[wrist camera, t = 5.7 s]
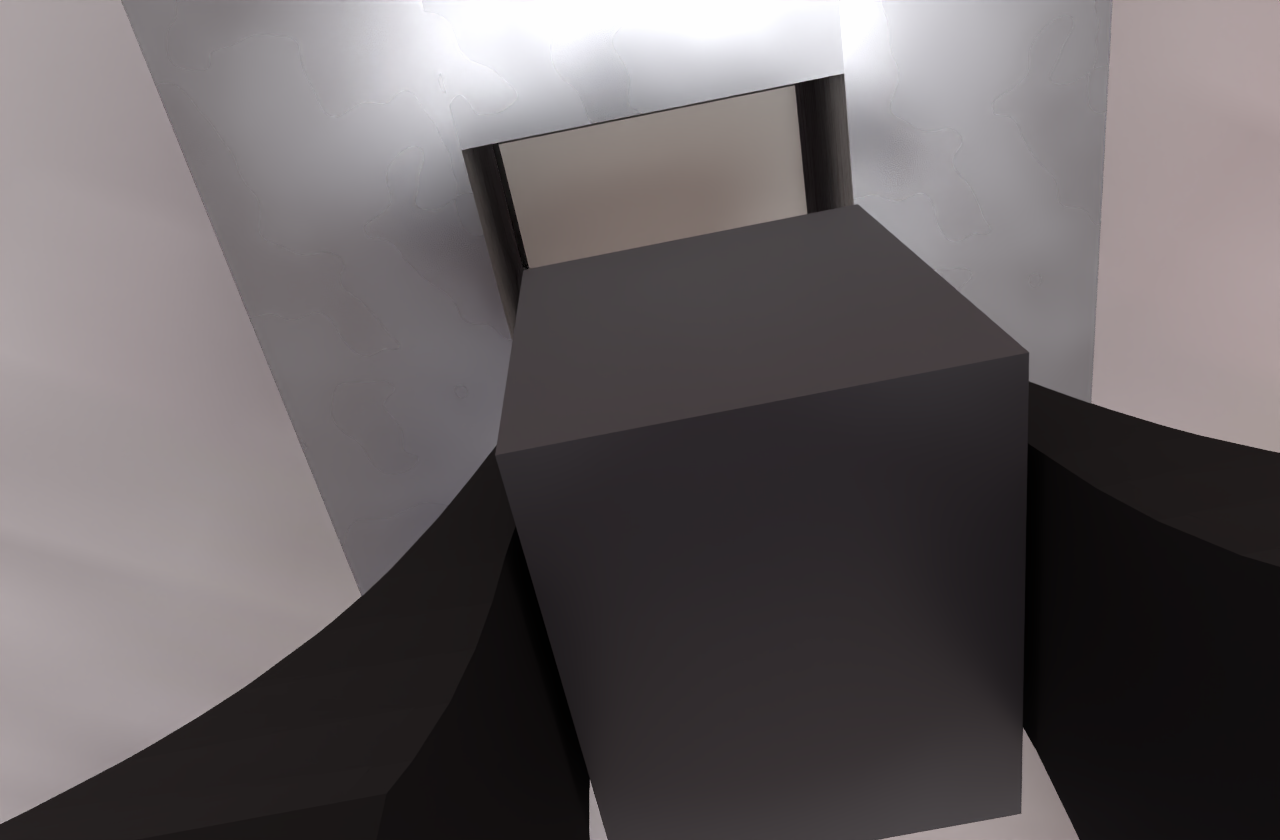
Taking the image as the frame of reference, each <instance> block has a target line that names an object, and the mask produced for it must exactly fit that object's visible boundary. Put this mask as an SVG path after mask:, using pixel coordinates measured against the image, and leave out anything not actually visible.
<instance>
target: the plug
mask: <svg viewBox="0 0 1280 840" xmlns="http://www.w3.org/2000/svg"><path fill="white" fill-rule="evenodd" d="M1028 395H1029V352H1028V351H1027V350H1026V349H1025V348H1024V347H1022V346H1021V345H1020V344H1019V343H1018V342H1017V341H1015V340H1014V339H1013V338H1012V337H1011V336H1010V335H1009V334H1007V333H1006V332H1005V331H1004V330H1003V329H1002V328H1000V327H999V326H998V325H997V324H996V323H995V322H994V321H992V320H991V319H990V318H989V317H988V316H987V315H985V314H984V313H983V312H982V311H981V310H980V309H979V308H977V307H976V306H975V305H974V304H973V303H972V302H970V301H969V300H968V299H967V298H966V297H965V296H963V295H962V294H961V293H960V292H959V291H958V290H957V289H955V288H954V287H953V286H952V285H951V284H950V283H948V282H947V281H946V280H945V279H944V278H943V277H942V276H940V275H939V274H938V273H937V272H936V271H935V270H933V269H932V268H931V267H930V266H929V265H928V264H927V263H925V262H924V261H923V260H922V259H921V258H920V257H918V256H917V255H916V254H915V253H914V252H913V251H912V250H910V249H909V248H908V247H907V246H906V245H905V244H903V243H902V242H901V241H900V240H899V239H898V238H897V237H895V236H894V235H893V234H892V233H891V232H890V231H888V230H887V229H886V228H885V227H884V226H883V225H882V224H880V223H879V222H878V221H877V220H876V219H875V218H873V217H872V216H871V215H870V214H869V213H868V212H867V211H865V210H864V209H863V208H862V207H861V206H860V205H858V204H856V205H851V206H846V207H841V208H835V209H830V210H825V211H820V212H815V213H810V214H805V215H800V216H795V217H790V218H785V219H780V220H775V221H769V222H764V223H759V224H754V225H749V226H744V227H739V228H734V229H729V230H724V231H719V232H714V233H708V234H703V235H698V236H693V237H688V238H683V239H678V240H673V241H668V242H663V243H658V244H653V245H647V246H642V247H637V248H632V249H627V250H622V251H617V252H612V253H607V254H602V255H597V256H592V257H587V258H581V259H576V260H571V261H566V262H561V263H556V264H551V265H546V266H541V267H536V268H531V269H526V270H523V276H522V282H521V289H520V296H519V302H518V309H517V315H516V322H515V328H514V335H513V341H512V348H511V354H510V361H509V368H508V374H507V381H506V387H505V394H504V400H503V407H502V413H501V420H500V427H499V433H498V440H497V446H496V453H495V456H496V460H497V463H498V467H499V470H500V474H501V477H502V480H503V484H504V487H505V491H506V494H507V497H508V501H509V504H510V508H511V511H512V514H513V518H514V521H515V525H516V528H517V532H518V535H519V538H520V542H521V545H522V549H523V552H524V555H525V559H526V562H527V566H528V569H529V572H530V576H531V579H532V583H533V586H534V590H535V593H536V596H537V600H538V603H539V607H540V610H541V613H542V617H543V620H544V624H545V627H546V630H547V634H548V637H549V641H550V644H551V648H552V651H553V654H554V658H555V661H556V665H557V668H558V671H559V675H560V678H561V682H562V685H563V688H564V692H565V695H566V699H567V702H568V706H569V709H570V712H571V716H572V719H573V723H574V726H575V729H576V733H577V736H578V740H579V743H580V746H581V750H582V753H583V757H584V760H585V764H586V767H587V770H588V774H589V777H590V781H591V784H592V787H593V791H594V794H595V798H596V801H597V804H598V808H599V811H600V815H601V818H602V822H603V825H604V828H605V832H606V835H607V839H608V840H878V839H884V838H889V837H895V836H900V835H906V834H911V833H917V832H922V831H928V830H933V829H939V828H944V827H950V826H955V825H961V824H967V823H972V822H978V821H983V820H989V819H994V818H1000V817H1005V816H1011V815H1016V814H1021V793H1022V736H1023V679H1024V622H1025V566H1026V509H1027V452H1028Z"/></svg>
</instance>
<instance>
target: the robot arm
mask: <svg viewBox="0 0 1280 840" xmlns="http://www.w3.org/2000/svg"><path fill="white" fill-rule="evenodd" d="M496 446H497V445H496ZM496 446H495V448H494V449H493V450H492V451H491V453H490V454H489V455H488V456H487V458H486V459H485V460H484V462H483V463H482V464H481V465H480V467H479V468H478V469H477V471H476V472H475V473H474V474H473V476H472V477H471V478H470V480H469V481H468V482H467V483H466V484H465V486H464V487H463V488H462V489H461V491H460V492H459V493H458V494H457V495H456V497H455V498H454V499H453V500H452V502H451V503H450V504H449V505H448V506H447V508H446V509H445V510H444V511H443V513H442V514H441V515H440V516H439V517H438V518H437V520H436V521H435V522H434V523H433V524H432V525H431V526H430V527H429V528H428V529H427V530H426V531H425V533H424V534H423V535H422V536H421V537H420V538H419V539H418V540H417V541H416V542H415V543H414V544H413V546H412V547H411V548H410V549H409V550H408V551H407V552H406V553H405V554H404V555H403V556H402V557H401V558H400V560H399V561H398V562H397V563H396V564H395V565H394V566H393V567H392V568H391V569H390V570H389V571H388V572H387V573H386V574H385V575H384V576H383V577H382V578H381V579H380V580H379V581H378V582H377V583H376V584H374V585H373V586H372V587H371V588H370V589H369V590H368V591H367V592H366V593H365V594H364V595H363V596H361V597H360V598H359V599H358V600H357V601H356V602H355V603H353V604H352V605H351V606H350V607H349V608H348V609H346V610H345V611H344V612H343V613H342V614H341V615H340V616H338V617H337V618H336V619H335V620H334V621H333V622H331V623H330V624H329V625H328V626H327V627H325V628H324V629H323V630H322V631H320V632H319V633H318V634H317V635H315V636H314V637H312V638H311V639H310V640H308V641H307V642H306V643H304V644H303V645H302V646H300V647H299V648H298V649H296V650H295V651H294V652H292V653H291V654H289V655H288V656H287V657H285V658H284V659H283V660H281V661H280V662H279V663H277V664H276V665H275V666H273V667H272V668H270V669H269V670H268V671H266V672H265V673H264V674H262V675H261V676H260V677H258V678H257V679H256V680H254V681H253V682H251V683H250V684H249V685H247V686H246V687H244V688H243V689H241V690H240V691H238V692H237V693H235V694H234V695H232V696H230V697H229V698H227V699H226V700H224V701H223V702H221V703H220V704H218V705H217V706H215V707H213V708H212V709H210V710H209V711H207V712H206V713H204V714H203V715H201V716H199V717H198V718H196V719H194V720H193V721H191V722H189V723H188V724H186V725H184V726H183V727H181V728H179V729H178V730H176V731H174V732H173V733H171V734H169V735H168V736H166V737H164V738H163V739H161V740H159V741H158V742H156V743H154V744H153V745H151V746H149V747H147V748H146V749H144V750H142V751H140V752H139V753H137V754H135V755H133V756H132V757H130V758H128V759H126V760H124V761H123V762H121V763H119V764H117V765H115V766H113V767H111V768H109V769H107V770H105V771H104V772H102V773H100V774H98V775H96V776H94V777H92V778H90V779H88V780H86V781H84V782H82V783H80V784H79V785H77V786H75V787H73V788H71V789H69V790H67V791H65V792H63V793H61V794H59V795H57V796H55V797H54V798H52V799H50V800H48V801H46V802H44V803H42V804H40V805H38V806H36V807H34V808H32V809H30V810H29V811H27V812H25V813H23V814H21V815H19V816H16V817H14V818H12V819H10V820H8V821H6V822H4V823H2V824H0V840H590V837H589V788H590V777H589V774H588V770H587V767H586V764H585V760H584V757H583V753H582V750H581V746H580V743H579V740H578V736H577V733H576V729H575V726H574V723H573V719H572V716H571V712H570V709H569V706H568V702H567V699H566V695H565V692H564V688H563V685H562V682H561V678H560V675H559V671H558V668H557V665H556V661H555V658H554V654H553V651H552V648H551V644H550V641H549V637H548V634H547V630H546V627H545V624H544V620H543V617H542V613H541V610H540V607H539V603H538V600H537V596H536V593H535V590H534V586H533V583H532V579H531V576H530V572H529V569H528V566H527V562H526V559H525V555H524V552H523V549H522V545H521V542H520V538H519V535H518V532H517V528H516V525H515V521H514V518H513V514H512V511H511V508H510V504H509V501H508V497H507V494H506V491H505V487H504V484H503V480H502V477H501V474H500V470H499V467H498V463H497V460H496V456H495V453H496ZM1023 728H1024V729H1025V731H1026V733H1027V735H1028V737H1029V738H1030V740H1031V742H1032V744H1033V745H1034V747H1035V749H1036V751H1037V753H1038V755H1039V757H1040V759H1041V761H1042V763H1043V765H1044V767H1045V769H1046V771H1047V773H1048V775H1049V777H1050V779H1051V781H1052V783H1053V785H1054V787H1055V790H1056V792H1057V794H1058V796H1059V798H1060V800H1061V802H1062V804H1063V806H1064V808H1065V810H1066V812H1067V814H1068V816H1069V818H1070V820H1071V822H1072V825H1073V827H1074V829H1075V831H1076V833H1077V835H1078V837H1079V839H1080V840H1280V453H1277V452H1272V451H1267V450H1263V449H1258V448H1254V447H1249V446H1245V445H1240V444H1236V443H1231V442H1227V441H1222V440H1218V439H1213V438H1209V437H1204V436H1200V435H1196V434H1192V433H1188V432H1185V431H1181V430H1177V429H1173V428H1169V427H1166V426H1162V425H1159V424H1156V423H1152V422H1149V421H1146V420H1142V419H1139V418H1136V417H1133V416H1129V415H1126V414H1123V413H1119V412H1116V411H1113V410H1110V409H1107V408H1104V407H1101V406H1098V405H1095V404H1091V403H1088V402H1085V401H1083V400H1080V399H1077V398H1074V397H1071V396H1068V395H1065V394H1063V393H1060V392H1057V391H1054V390H1051V389H1049V388H1046V387H1043V386H1040V385H1038V384H1035V383H1032V382H1030V381H1029V395H1028V452H1027V509H1026V566H1025V622H1024V679H1023Z"/></svg>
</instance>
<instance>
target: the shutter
mask: <svg viewBox="0 0 1280 840" xmlns="http://www.w3.org/2000/svg"><path fill="white" fill-rule="evenodd" d="M499 147H500V151H501V155H502V159H503V164H504V168H505V172H506V176H507V180H508V184H509V188H510V192H511V196H512V200H513V204H514V208H515V212H516V216H517V220H518V224H519V229H520V233H521V237H522V241H523V245H524V249H525V253H526V257H527V261H528V265H529V269H531V268H536V267H541V266H546V265H551V264H556V263H561V262H566V261H571V260H576V259H581V258H587V257H592V256H597V255H602V254H607V253H612V252H617V251H622V250H627V249H632V248H637V247H642V246H647V245H653V244H658V243H663V242H668V241H673V240H678V239H683V238H688V237H693V236H698V235H703V234H708V233H714V232H719V231H724V230H729V229H734V228H739V227H744V226H749V225H754V224H759V223H764V222H769V221H775V220H780V219H785V218H790V217H795V216H800V215H805V214H807V205H806V195H805V185H804V174H803V164H802V154H801V144H800V133H799V123H798V113H797V102H796V92H795V85H793V84H789V85H784V86H779V87H774V88H769V89H764V90H759V91H754V92H749V93H744V94H739V95H734V96H729V97H724V98H719V99H714V100H709V101H704V102H699V103H694V104H689V105H684V106H679V107H674V108H669V109H664V110H659V111H654V112H649V113H644V114H639V115H634V116H629V117H624V118H619V119H614V120H609V121H604V122H599V123H594V124H589V125H584V126H579V127H574V128H569V129H564V130H559V131H554V132H549V133H544V134H539V135H534V136H529V137H524V138H519V139H514V140H509V141H504V142H500V143H499Z"/></svg>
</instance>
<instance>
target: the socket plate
mask: <svg viewBox="0 0 1280 840" xmlns="http://www.w3.org/2000/svg"><path fill="white" fill-rule="evenodd" d="M121 1H122V4H123V6H124V9H125V11H126V14H127V16H128V18H129V21H130V23H131V26H132V28H133V31H134V33H135V36H136V38H137V41H138V43H139V46H140V48H141V51H142V53H143V56H144V58H145V61H146V63H147V66H148V68H149V70H150V73H151V75H152V78H153V80H154V83H155V85H156V88H157V90H158V93H159V95H160V98H161V100H162V103H163V105H164V108H165V110H166V113H167V115H168V118H169V120H170V122H171V125H172V127H173V130H174V132H175V135H176V137H177V140H178V142H179V145H180V147H181V150H182V152H183V155H184V157H185V160H186V162H187V165H188V167H189V170H190V172H191V174H192V177H193V179H194V182H195V184H196V187H197V189H198V192H199V194H200V197H201V199H202V202H203V204H204V207H205V209H206V212H207V214H208V217H209V219H210V221H211V224H212V226H213V229H214V231H215V234H216V236H217V239H218V241H219V244H220V246H221V249H222V251H223V254H224V256H225V259H226V261H227V264H228V266H229V269H230V271H231V273H232V276H233V278H234V281H235V283H236V286H237V288H238V291H239V293H240V296H241V298H242V301H243V303H244V306H245V308H246V311H247V313H248V316H249V318H250V321H251V323H252V325H253V328H254V330H255V333H256V335H257V338H258V340H259V343H260V345H261V348H262V350H263V353H264V355H265V358H266V360H267V363H268V365H269V368H270V370H271V373H272V375H273V377H274V380H275V382H276V385H277V387H278V390H279V392H280V395H281V397H282V400H283V402H284V405H285V407H286V410H287V412H288V415H289V417H290V420H291V422H292V424H293V427H294V429H295V432H296V434H297V437H298V439H299V442H300V444H301V447H302V449H303V452H304V454H305V457H306V459H307V462H308V464H309V467H310V469H311V472H312V474H313V476H314V479H315V481H316V484H317V486H318V489H319V491H320V494H321V496H322V499H323V501H324V504H325V506H326V509H327V511H328V514H329V516H330V519H331V521H332V524H333V526H334V528H335V531H336V533H337V536H338V538H339V541H340V543H341V546H342V548H343V551H344V553H345V556H346V558H347V561H348V563H349V566H350V568H351V571H352V573H353V576H354V578H355V580H356V583H357V585H358V588H359V590H360V593H361V595H362V596H363V595H364V594H365V593H366V592H367V591H368V590H369V589H370V588H371V587H372V586H373V585H374V584H376V583H377V582H378V581H379V580H380V579H381V578H382V577H383V576H384V575H385V574H386V573H387V572H388V571H389V570H390V569H391V568H392V567H393V566H394V565H395V564H396V563H397V562H398V561H399V560H400V558H401V557H402V556H403V555H404V554H405V553H406V552H407V551H408V550H409V549H410V548H411V547H412V546H413V544H414V543H415V542H416V541H417V540H418V539H419V538H420V537H421V536H422V535H423V534H424V533H425V531H426V530H427V529H428V528H429V527H430V526H431V525H432V524H433V523H434V522H435V521H436V520H437V518H438V517H439V516H440V515H441V514H442V513H443V511H444V510H445V509H446V508H447V506H448V505H449V504H450V503H451V502H452V500H453V499H454V498H455V497H456V495H457V494H458V493H459V492H460V491H461V489H462V488H463V487H464V486H465V484H466V483H467V482H468V481H469V480H470V478H471V477H472V476H473V474H474V473H475V472H476V471H477V469H478V468H479V467H480V465H481V464H482V463H483V462H484V460H485V459H486V458H487V456H488V455H489V454H490V453H491V451H492V450H493V449H494V448H495V446H496V445H497V440H498V433H499V427H500V420H501V413H502V407H503V400H504V394H505V387H506V381H507V374H508V368H509V361H510V354H511V348H512V341H513V335H514V328H515V322H516V315H517V309H518V302H519V296H520V289H521V282H522V276H523V266H522V262H521V258H520V254H519V250H518V246H517V242H516V238H515V234H514V230H513V226H512V222H511V218H510V214H509V210H508V206H507V202H506V198H505V194H504V190H503V186H502V182H501V178H500V174H499V170H498V166H497V162H496V158H495V154H494V150H493V146H492V144H494V143H499V142H504V141H509V140H514V139H519V138H524V137H529V136H534V135H539V134H544V133H549V132H554V131H559V130H564V129H569V128H574V127H579V126H584V125H589V124H594V123H599V122H604V121H609V120H614V119H619V118H624V117H629V116H634V115H639V114H644V113H649V112H654V111H659V110H664V109H669V108H674V107H679V106H684V105H689V104H694V103H699V102H704V101H709V100H714V99H719V98H724V97H729V96H734V95H739V94H744V93H749V92H754V91H759V90H764V89H769V88H774V87H779V86H784V85H789V84H793V85H795V92H796V102H797V113H798V123H799V133H800V144H801V154H802V164H803V174H804V185H805V195H806V205H807V214H810V213H815V212H820V211H825V210H830V209H835V208H841V207H846V206H851V205H856V204H858V205H860V206H861V207H862V208H863V209H864V210H865V211H867V212H868V213H869V214H870V215H871V216H872V217H873V218H875V219H876V220H877V221H878V222H879V223H880V224H882V225H883V226H884V227H885V228H886V229H887V230H888V231H890V232H891V233H892V234H893V235H894V236H895V237H897V238H898V239H899V240H900V241H901V242H902V243H903V244H905V245H906V246H907V247H908V248H909V249H910V250H912V251H913V252H914V253H915V254H916V255H917V256H918V257H920V258H921V259H922V260H923V261H924V262H925V263H927V264H928V265H929V266H930V267H931V268H932V269H933V270H935V271H936V272H937V273H938V274H939V275H940V276H942V277H943V278H944V279H945V280H946V281H947V282H948V283H950V284H951V285H952V286H953V287H954V288H955V289H957V290H958V291H959V292H960V293H961V294H962V295H963V296H965V297H966V298H967V299H968V300H969V301H970V302H972V303H973V304H974V305H975V306H976V307H977V308H979V309H980V310H981V311H982V312H983V313H984V314H985V315H987V316H988V317H989V318H990V319H991V320H992V321H994V322H995V323H996V324H997V325H998V326H999V327H1000V328H1002V329H1003V330H1004V331H1005V332H1006V333H1007V334H1009V335H1010V336H1011V337H1012V338H1013V339H1014V340H1015V341H1017V342H1018V343H1019V344H1020V345H1021V346H1022V347H1024V348H1025V349H1026V350H1027V351H1028V352H1029V381H1030V382H1032V383H1035V384H1038V385H1040V386H1043V387H1046V388H1049V389H1051V390H1054V391H1057V392H1060V393H1063V394H1065V395H1068V396H1071V397H1074V398H1077V399H1080V400H1083V401H1085V402H1088V403H1091V396H1092V377H1093V358H1094V339H1095V320H1096V302H1097V283H1098V264H1099V245H1100V226H1101V207H1102V189H1103V170H1104V151H1105V132H1106V113H1107V94H1108V75H1109V57H1110V38H1111V19H1112V0H121Z"/></svg>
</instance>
